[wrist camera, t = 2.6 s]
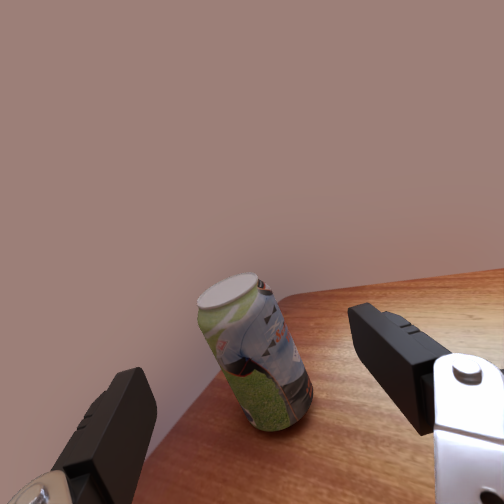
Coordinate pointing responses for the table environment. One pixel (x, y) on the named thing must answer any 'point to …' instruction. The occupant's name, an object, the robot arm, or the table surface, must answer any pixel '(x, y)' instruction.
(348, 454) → the table surface
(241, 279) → the beverage can
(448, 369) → the robot arm
